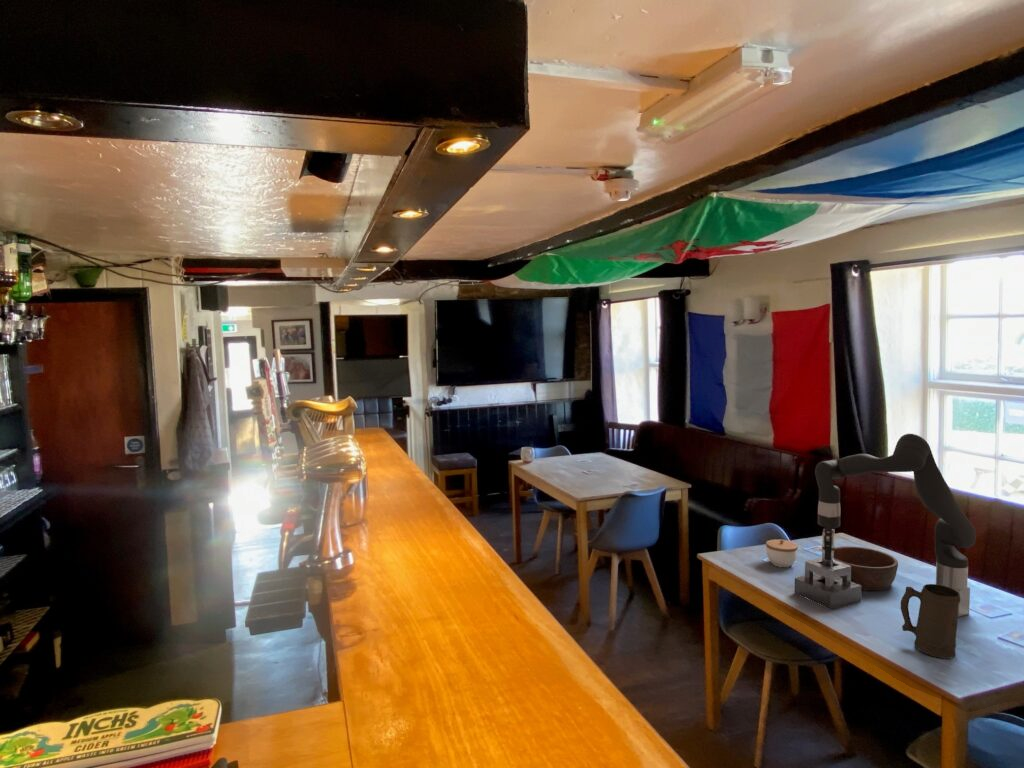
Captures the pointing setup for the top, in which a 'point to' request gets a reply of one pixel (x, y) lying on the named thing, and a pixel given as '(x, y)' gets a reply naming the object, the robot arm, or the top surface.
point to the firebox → (828, 584)
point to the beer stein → (933, 619)
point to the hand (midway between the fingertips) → (828, 557)
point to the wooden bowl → (868, 566)
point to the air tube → (831, 562)
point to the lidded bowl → (781, 552)
